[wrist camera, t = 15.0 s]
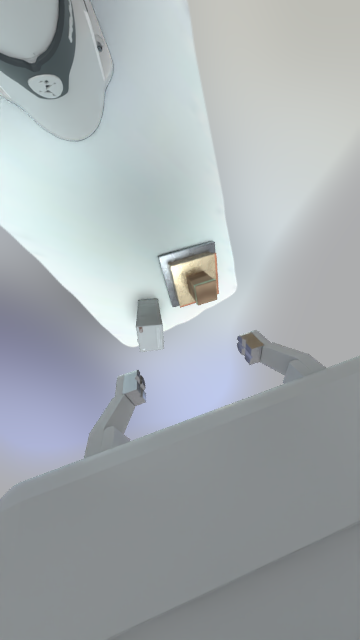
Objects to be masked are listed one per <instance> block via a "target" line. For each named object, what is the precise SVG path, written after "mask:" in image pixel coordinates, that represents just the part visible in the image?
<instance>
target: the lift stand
mask: <svg viewBox="0 0 360 640" xmlns="http://www.w3.org/2000/svg"><path fill="white" fill-rule="evenodd" d="M158 258H159V261H160V265H161V269H162V272H163V276H164V279H165V283H166V286H167V290H168V293H169V297H170V300H171V304H172V307H176V306H179V305H180V308H181V307H184V306H187V305H190V304H193V303H196V301H195V300H194V299H193V297H192V296H191V294H190V293H189V289H188V284H187V279H186V276H188V275H192V274H195V273H198V272H202V271H204V272H205V273H207V274H208V275H209V276H210V277H212V278H213V279H215V280H216V289H217V294H219V290H218V273H217V257H216V253H215V242H213V241H210V242H206V243H203V244H199V245H196V246H192V247H189V248H185V249H182V250H178V251H175V252H171V253H168V254H164V255H161V256H158Z"/></svg>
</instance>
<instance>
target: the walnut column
mask: <svg viewBox="0 0 360 640" xmlns="http://www.w3.org/2000/svg"><path fill="white" fill-rule="evenodd" d="M186 279H187V284H188V289H189V293H190V294H191V296H192V297H193V299H194V300H195V301H196V303H197V305H201V304H204V303H208V302H211V301H214V300H217V289H216V280H215V279H213V278H212V277H210V276H209V275H208V274H207V273H205V272H204V271H202V272H198V273H195V274H192V275H188V276H186Z"/></svg>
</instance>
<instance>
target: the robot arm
mask: <svg viewBox="0 0 360 640" xmlns="http://www.w3.org/2000/svg"><path fill="white" fill-rule="evenodd" d="M97 46H101V48H102V51H101V52H99V51H98V48H97ZM112 74H113V62H112V58H111V55H110V52H109V49H108V47H107V44H106V42H105V39H104V36H103V34H102V31H101V28H100V26H99V23H98V20H97V18H96V15H95V12H94V10H93V7H92V4H91V2H90V0H0V96H2V97H3V98H5V99H7V100H8V101H10V102H12V103H14V104H16V105H18V106H19V107H20V108H22V109H23V110H24V111H25V112H26V113H27V114H28V115H29V116H30V117H31V118H32V119H33V120H34V121H35V122H36V123H37V124H38V125H40V126H41V127H42V128H43V129H45V130H46V131H48V132H49V133H51V134H53V135H55V136H57V137H59V138H61V139H65V140H70V141H79V140H83V139H85V138H87V137H89V136H90V135H91V134H93V132H94V131H95V130H96V129H97V127H98V125H99V123H100V120H101V117H102V113H103V107H104V95H105V90H106V87H107V85H108V84H109V82H110V79H111V77H112ZM237 340H238V341H239V342H238V343H237V347H238V350H239V352H240V353H241V354H242V355H244V356H245V360H246V361H247V362H248V363H249V365H251V364H254V363H258V362H260V363H262V364H264V365H266V366H268V367H270V368H272V369H274V370H275V371H277V372H279V373H281V374H283V375H285V377H284V380H283V383H284V384H283V385H280V386H277V387H275V388H272V389H269V390H267V391H264V392H261V393H259V394H256V395H254V396H251V397H248V398H246V399H242V400H240V401H237V402H235V403H232V404H229V405H226V406H224V407H221V408H219V409H216V410H213V411H210V412H208V413H205V414H202V415H200V416H197V417H194V418H192V419H189V420H186V421H183V422H181V423H178V424H175V425H173V426H170V427H167V428H165V429H162V430H159V431H157V432H154V433H151V434H149V435H146V436H143V437H141V438H138V439H136V440H133V441H130V439H129V438H128V437H126V436H125V435H124V432H125V430H126V427H127V425H128V423H129V420H130V418H131V416H132V413H133V411H134V409H135V406H137V405H140V404H142V403H145V402H146V393H145V392H144V390H145V381H144V378H143V377H142V376H141V375H140V372H139V370H136V371H133V372H130V373H127V374H124V375H121V376H118V378H117V383H116V392H115V397H114V398H113V399H112V400H111V402H110V403H109V405H108V406H107V408H106V409H105V411H104V412H103V414H102V415H101V417H100V418H99V420H98V421H97V423H96V424H95V426H94V427H93V429H92V430H91V432H90V434H89V438H88V443H87V447H86V451H85V456H84V459H82V460H79V461H76V462H74V463H71V464H68V465H66V466H63V467H60V468H58V469H55V470H52V471H50V472H47V473H44V474H42V475H39V476H36V477H33V478H31V479H28V480H25V481H23V482H20V483H18V484H16V485H14V486H13V487H12V488H11V489H9V491H8V492H7V493H6V494H5V495H4V496H3V497H2V498H1V499H0V640H360V356H358V357H355V358H353V359H350V360H347V361H344V362H342V363H339V364H337V365H334V366H331V367H328V368H326V367H325V366H323V365H322V364H321V363H320V362H318V361H317V360H316V359H314V358H313V357H312V356H311V355H309V354H307V353H304V352H300V351H297V350H294V349H292V348H288V347H285V346H282V345H279V344H276V343H271V342H270V341H268V340H267V339H266V338H265V337H264V336H263V335H262V334H261V333H259V332H258V331H257V330H254V331H251V332H248V333H245V334H242V335H239V336H238V338H237Z"/></svg>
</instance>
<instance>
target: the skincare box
mask: <svg viewBox="0 0 360 640" xmlns="http://www.w3.org/2000/svg"><path fill="white" fill-rule="evenodd" d="M136 330H137V336H138V339H137V341H138V343H139V347H140V352H145V351H153V350H161V349H164V340H163V325H162V320H161V315H160V309H159V303H158V299H148V300H138V311H137V321H136Z"/></svg>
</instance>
